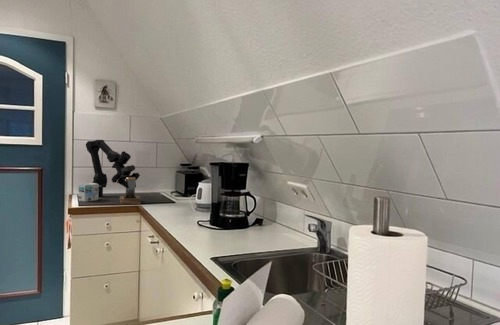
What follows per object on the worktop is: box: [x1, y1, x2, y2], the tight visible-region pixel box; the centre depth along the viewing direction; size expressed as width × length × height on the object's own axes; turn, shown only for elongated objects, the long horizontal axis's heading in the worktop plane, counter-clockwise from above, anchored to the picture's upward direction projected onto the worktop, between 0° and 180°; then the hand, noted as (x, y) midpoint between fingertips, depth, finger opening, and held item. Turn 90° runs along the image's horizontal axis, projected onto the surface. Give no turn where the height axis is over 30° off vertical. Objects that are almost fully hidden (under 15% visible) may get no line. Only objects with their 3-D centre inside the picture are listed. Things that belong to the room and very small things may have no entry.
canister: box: [125, 177, 136, 198], centre depth 246 cm, size 6×6×13 cm
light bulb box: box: [78, 182, 99, 202], centre depth 248 cm, size 11×7×11 cm, turn 148°
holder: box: [119, 195, 142, 205], centre depth 247 cm, size 12×12×3 cm
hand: (131, 187), depth 245 cm, fingers closed on canister, 6 cm apart
